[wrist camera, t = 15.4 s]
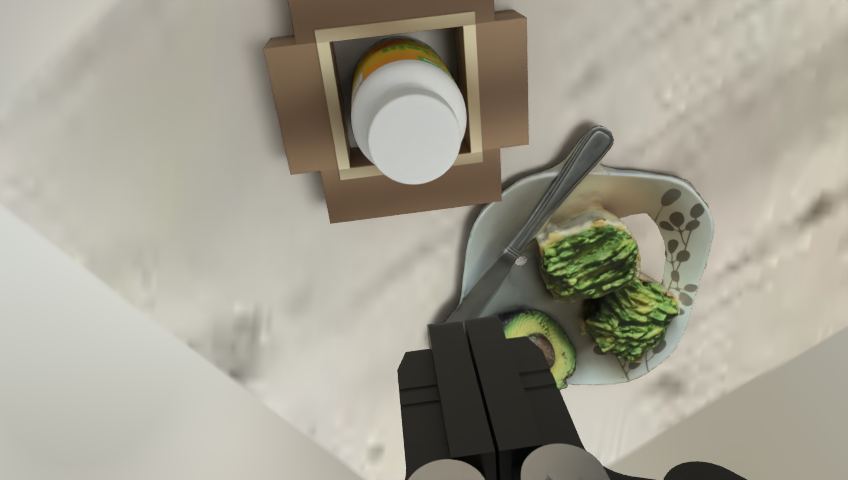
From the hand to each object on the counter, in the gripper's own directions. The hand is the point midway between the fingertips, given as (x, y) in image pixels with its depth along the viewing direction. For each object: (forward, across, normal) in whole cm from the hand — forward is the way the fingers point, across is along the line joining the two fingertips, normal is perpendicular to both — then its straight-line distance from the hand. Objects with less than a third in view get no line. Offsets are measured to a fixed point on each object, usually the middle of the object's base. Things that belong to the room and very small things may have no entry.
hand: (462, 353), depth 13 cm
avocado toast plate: (+24, -10, +15) cm, 31 cm away
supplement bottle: (+24, 0, 0) cm, 24 cm away
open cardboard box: (+24, 0, 0) cm, 24 cm away
